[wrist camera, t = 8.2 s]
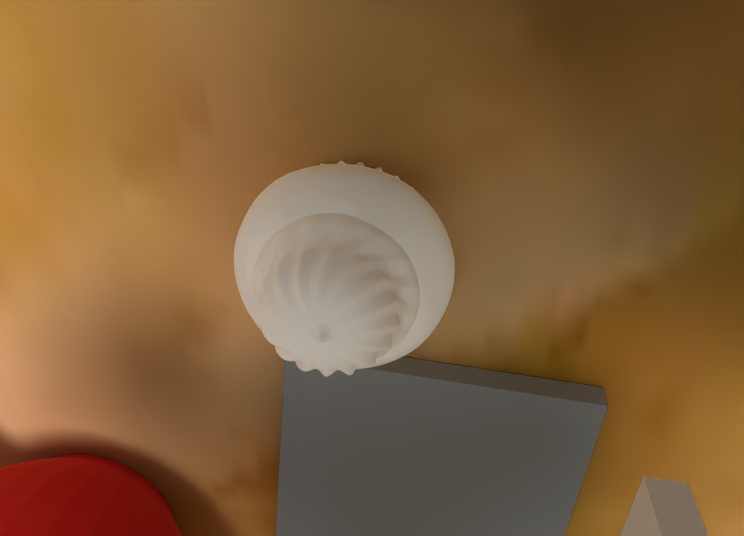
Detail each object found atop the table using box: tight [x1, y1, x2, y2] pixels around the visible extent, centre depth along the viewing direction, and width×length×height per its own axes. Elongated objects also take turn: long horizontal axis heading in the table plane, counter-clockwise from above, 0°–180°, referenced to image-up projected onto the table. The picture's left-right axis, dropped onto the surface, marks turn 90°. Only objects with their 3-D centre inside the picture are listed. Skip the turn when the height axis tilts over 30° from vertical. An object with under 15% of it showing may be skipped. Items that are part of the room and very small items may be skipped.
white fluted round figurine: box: [234, 161, 455, 377], centre depth 19 cm, size 6×6×7 cm
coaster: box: [276, 357, 608, 536], centre depth 27 cm, size 11×11×1 cm
